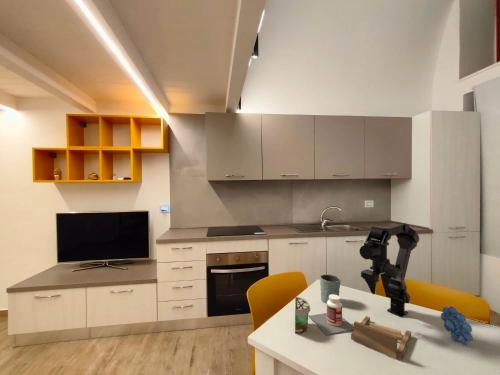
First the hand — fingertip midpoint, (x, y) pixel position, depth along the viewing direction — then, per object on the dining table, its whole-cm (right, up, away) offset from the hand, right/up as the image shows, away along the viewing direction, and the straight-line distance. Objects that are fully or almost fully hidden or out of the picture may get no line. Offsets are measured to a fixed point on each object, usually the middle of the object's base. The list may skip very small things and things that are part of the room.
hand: (379, 291), depth 103 cm
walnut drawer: (-6, -13, -12) cm, 18 cm away
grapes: (+22, -13, -12) cm, 28 cm away
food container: (-35, -13, -5) cm, 37 cm away
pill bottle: (-20, -13, -2) cm, 24 cm away
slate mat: (-21, -13, -1) cm, 25 cm away
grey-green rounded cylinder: (-15, -13, +19) cm, 28 cm away
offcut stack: (-3, -14, -9) cm, 17 cm away
